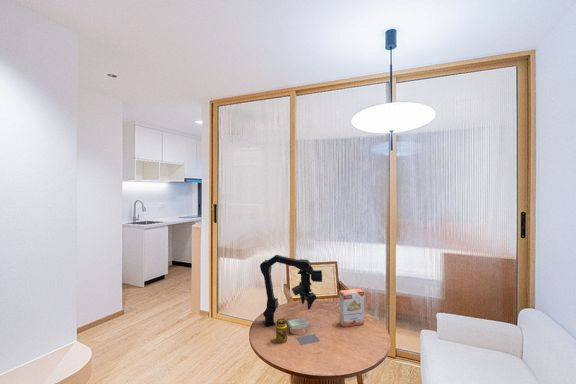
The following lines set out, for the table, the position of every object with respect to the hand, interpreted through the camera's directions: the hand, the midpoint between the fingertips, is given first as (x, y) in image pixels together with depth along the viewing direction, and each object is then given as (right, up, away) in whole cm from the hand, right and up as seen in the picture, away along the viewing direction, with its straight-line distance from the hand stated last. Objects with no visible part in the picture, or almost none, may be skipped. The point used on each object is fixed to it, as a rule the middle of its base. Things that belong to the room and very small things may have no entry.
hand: (305, 306), depth 174 cm
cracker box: (+29, -12, +3) cm, 32 cm away
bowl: (-5, -13, -6) cm, 15 cm away
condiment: (-15, -13, -17) cm, 26 cm away
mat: (0, -13, -16) cm, 21 cm away
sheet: (-5, -8, -6) cm, 12 cm away
